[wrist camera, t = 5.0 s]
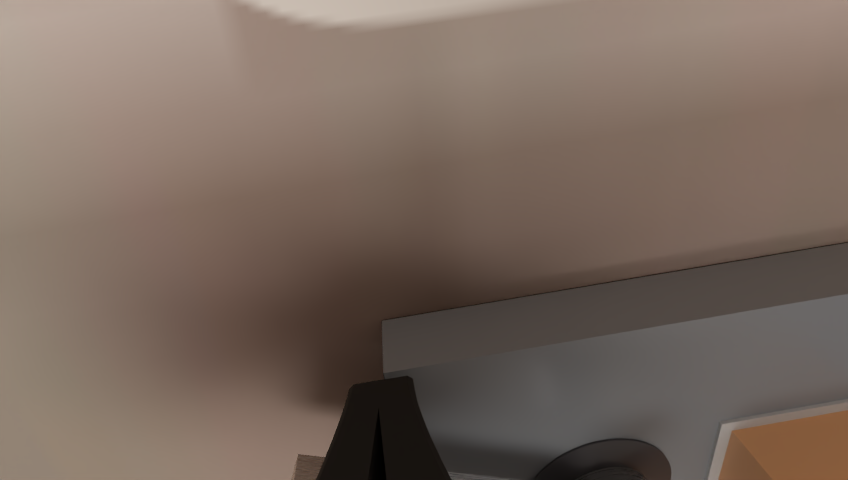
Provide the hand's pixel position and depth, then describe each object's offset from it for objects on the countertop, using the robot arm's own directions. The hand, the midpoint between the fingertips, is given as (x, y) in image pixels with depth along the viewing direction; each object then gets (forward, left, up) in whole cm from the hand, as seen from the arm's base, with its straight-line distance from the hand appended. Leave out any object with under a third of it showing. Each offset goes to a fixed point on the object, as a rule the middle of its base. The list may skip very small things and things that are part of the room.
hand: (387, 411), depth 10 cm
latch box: (-7, +5, -3) cm, 9 cm away
